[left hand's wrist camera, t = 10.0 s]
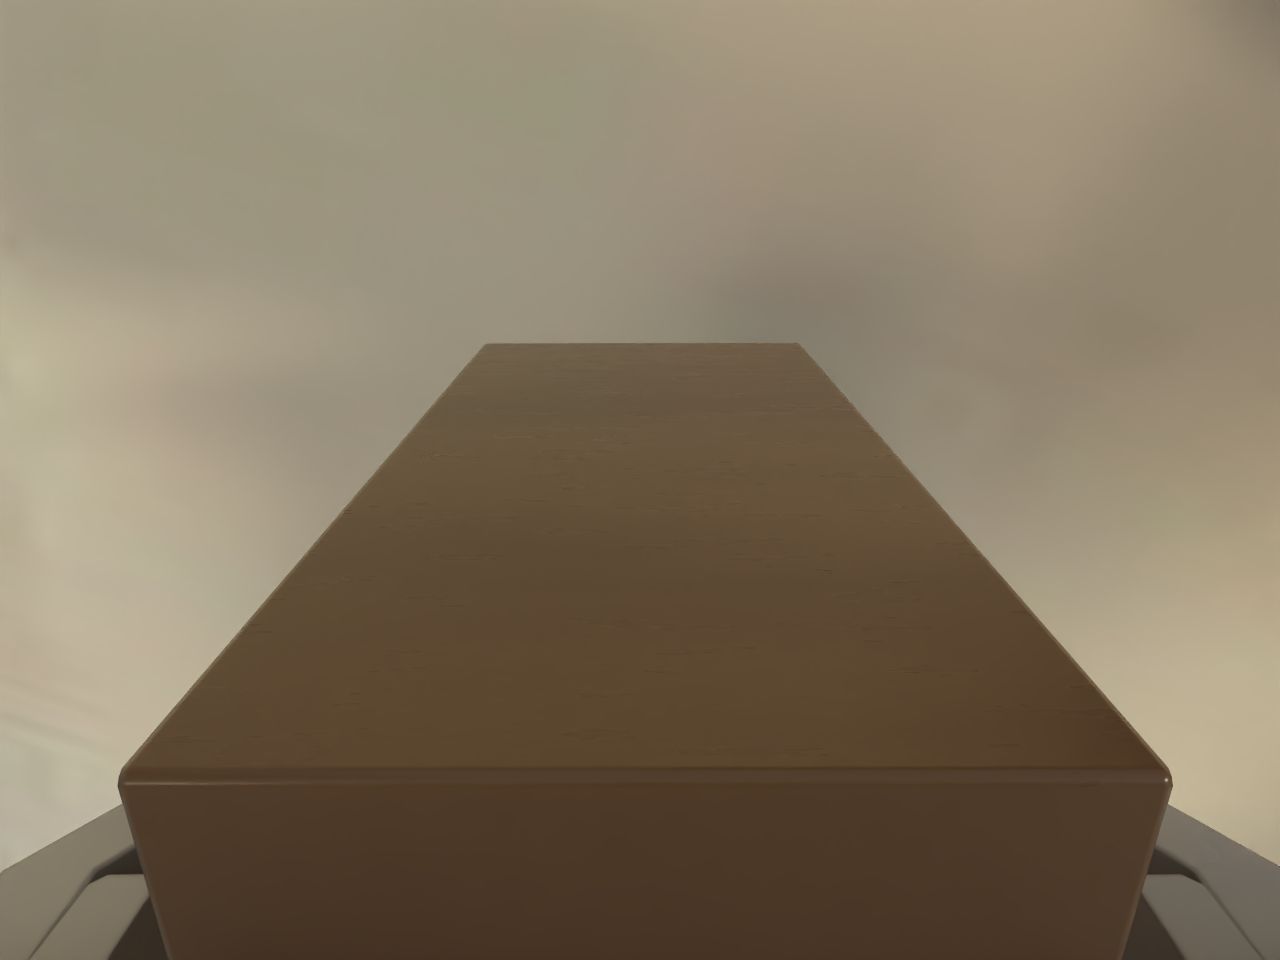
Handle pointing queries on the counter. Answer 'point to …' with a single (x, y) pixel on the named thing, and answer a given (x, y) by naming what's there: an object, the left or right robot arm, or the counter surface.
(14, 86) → the counter surface
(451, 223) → the counter surface
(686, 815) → the box
